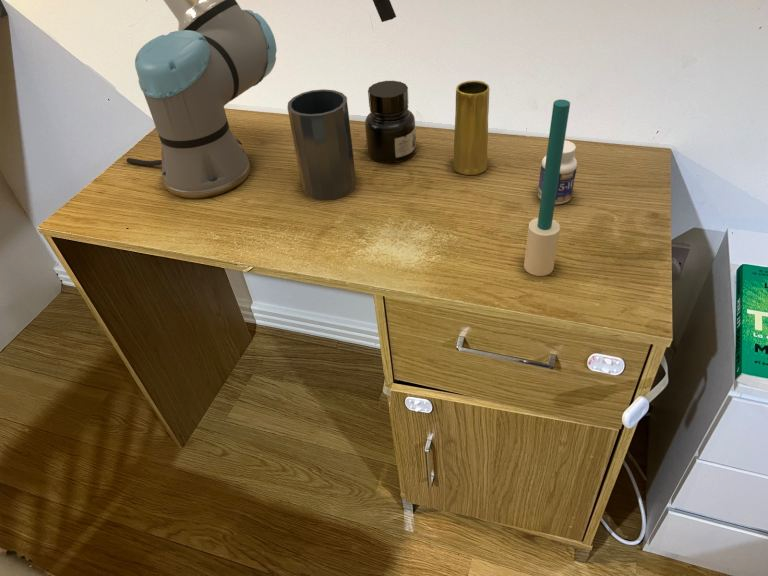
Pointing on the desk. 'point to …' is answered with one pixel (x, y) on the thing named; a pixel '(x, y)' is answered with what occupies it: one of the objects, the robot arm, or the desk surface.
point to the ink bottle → (390, 123)
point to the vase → (471, 128)
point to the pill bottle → (563, 174)
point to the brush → (548, 200)
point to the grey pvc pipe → (323, 143)
